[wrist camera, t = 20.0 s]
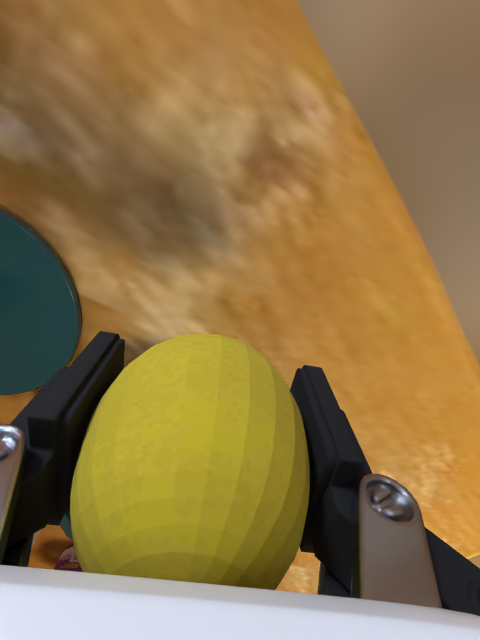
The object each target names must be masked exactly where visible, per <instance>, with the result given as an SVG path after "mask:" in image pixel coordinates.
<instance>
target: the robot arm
mask: <svg viewBox="0 0 480 640" xmlns="http://www.w3.org/2000/svg"><path fill="white" fill-rule="evenodd" d="M124 352H125V340H124V339H120V336H119V334H115V333H109V332H103V331H100V332H99V333H98V334H97V335H96V336H95V338H94V339H93V340H92V341H91V342H90V343H89V345H88V346H87V347H86V348H85V349H84V350H83V352H82V353H81V354H80V355H79V356H78V358H77V359H76V360H75V361H74V362H73V363H72V365H71V366H70V367H61V368H60V369H59V370H58V371H57V372H56V373H55V374H54V375H53V376H52V378H51V379H50V380H49V381H48V382H47V383H46V384H45V385H44V387H43V388H42V389H41V390H40V391H39V392H38V393H37V394H36V396H35V397H34V398H33V399H32V400H31V401H30V402H29V403H28V404H27V406H26V407H25V408H24V409H23V410H22V411H21V412H20V413H19V415H18V416H17V417H16V418H15V419H14V420H13V421H12V422H11V424H10V425H9V424H0V640H480V569H479V568H478V567H477V566H475V565H474V564H473V563H472V562H470V561H469V560H468V559H466V558H465V557H464V556H462V555H461V554H460V553H458V552H457V551H456V550H454V549H453V548H452V547H450V546H449V545H448V544H447V543H445V542H444V541H443V540H441V539H440V538H439V537H437V536H436V535H435V534H433V533H432V532H431V531H429V530H428V529H427V528H425V527H424V523H423V518H422V514H421V510H420V508H419V505H418V503H417V501H416V500H415V499H414V497H413V496H412V494H411V493H410V492H409V491H408V490H407V489H406V488H405V487H404V486H402V485H401V484H399V483H398V482H397V481H395V480H393V479H391V478H389V477H387V476H384V475H380V474H372V471H371V469H370V467H369V465H368V463H367V461H366V458H365V456H364V454H363V452H362V450H361V448H360V445H359V443H358V441H357V439H356V437H355V434H354V432H353V430H352V428H351V426H350V424H349V421H348V419H347V417H346V415H345V413H344V412H343V411H342V410H341V409H340V408H339V405H338V403H337V401H336V399H335V396H334V394H333V392H332V390H331V388H330V385H329V383H328V381H327V379H326V376H325V374H324V372H323V370H322V368H320V367H314V366H308V365H304V366H303V368H302V369H300V368H298V369H297V371H296V374H295V377H294V380H293V383H292V386H291V389H290V392H291V394H292V395H293V397H294V399H295V401H296V403H297V406H298V408H299V410H300V414H301V417H302V420H303V425H304V430H305V436H306V442H307V448H308V456H309V467H310V491H309V501H308V509H307V514H306V520H305V525H304V530H303V534H302V539H301V543H300V550H301V552H310V553H315V556H316V557H317V558H318V559H319V560H320V561H321V563H320V572H319V583H318V594H308V593H298V592H288V591H278V590H268V589H258V588H247V587H237V586H227V585H216V584H206V583H195V582H184V581H174V580H163V579H152V578H142V577H131V576H120V575H109V574H98V573H87V572H75V571H64V570H53V569H42V568H30V567H28V563H29V558H30V552H31V547H32V542H33V536H34V533H36V532H37V531H39V530H41V529H43V528H44V527H45V526H46V524H49V525H59V524H60V522H61V520H62V518H63V516H64V514H65V512H70V495H71V488H72V481H73V475H74V471H75V466H76V462H77V459H78V455H79V452H80V449H81V446H82V443H83V440H84V436H85V433H86V430H87V427H88V425H89V422H90V420H91V417H92V415H93V413H94V411H95V409H96V407H97V405H98V403H99V401H100V400H101V398H102V397H103V395H104V394H105V392H106V391H107V390H108V389H109V387H110V386H111V385H112V383H113V382H114V381H115V379H116V378H117V377H118V376H119V374H120V373H121V372H122V371H123V368H124Z"/></svg>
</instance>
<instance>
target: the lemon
mask: <svg viewBox="0 0 480 640" xmlns="http://www.w3.org/2000/svg"><path fill="white" fill-rule="evenodd" d="M309 491H310V467H309V456H308V448H307V442H306V436H305V430H304V425H303V420H302V417H301V414H300V410H299V408H298V406H297V403H296V401H295V399H294V397H293V395H292V394H291V392H290V390H289V388H288V386H287V384H286V382H285V381H284V379H283V377H282V376H281V374H280V373H279V372H278V371H277V369H276V368H275V367H274V366H273V365H272V364H271V363H270V362H269V361H268V360H267V359H266V358H265V357H264V356H263V355H262V354H260V353H259V352H258V351H256V350H254V349H253V348H251V347H249V346H248V345H246V344H245V343H243V342H241V341H239V340H235V339H232V338H229V337H226V336H223V335H216V334H204V333H196V334H189V335H182V336H177V337H174V338H172V339H169V340H167V341H164V342H161V343H159V344H157V345H154V346H152V347H151V348H150V349H148V350H147V351H146V352H144V353H143V354H141V355H140V356H139V357H137V358H136V359H135V360H133V361H132V362H131V363H129V364H128V365H127V366H126V367H125V368H124V369H123V371H122V372H121V373H120V374H119V376H118V377H117V378H116V379H115V381H114V382H113V383H112V385H111V386H110V387H109V389H108V390H107V391H106V392H105V394H104V395H103V397H102V398H101V400H100V401H99V403H98V405H97V407H96V409H95V411H94V413H93V415H92V417H91V420H90V422H89V425H88V427H87V430H86V433H85V436H84V440H83V443H82V446H81V449H80V452H79V455H78V459H77V462H76V466H75V471H74V475H73V481H72V488H71V495H70V519H71V532H72V539H73V545H74V551H75V553H76V556H77V558H78V561H79V564H80V566H81V569H82V571H83V572H87V573H98V574H109V575H120V576H131V577H142V578H152V579H163V580H174V581H184V582H195V583H206V584H216V585H227V586H237V587H247V588H258V589H268V590H275V589H276V588H277V586H278V585H279V583H280V582H281V580H282V578H283V577H284V575H285V573H286V572H287V570H288V569H289V567H290V565H291V564H292V562H293V560H294V558H295V556H296V553H297V551H298V548H299V546H300V543H301V539H302V534H303V530H304V525H305V520H306V514H307V509H308V501H309Z"/></svg>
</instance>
